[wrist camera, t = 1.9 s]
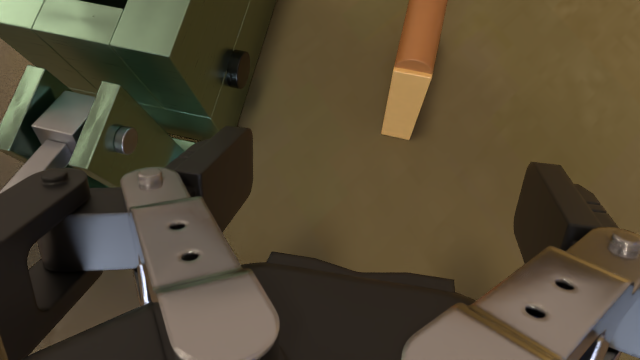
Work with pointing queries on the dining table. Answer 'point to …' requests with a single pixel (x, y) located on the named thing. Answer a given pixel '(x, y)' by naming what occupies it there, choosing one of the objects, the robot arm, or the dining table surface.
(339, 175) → the dining table surface
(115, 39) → the toaster
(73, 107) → the lever
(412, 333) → the robot arm
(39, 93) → the lever housing
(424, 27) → the bread slice
